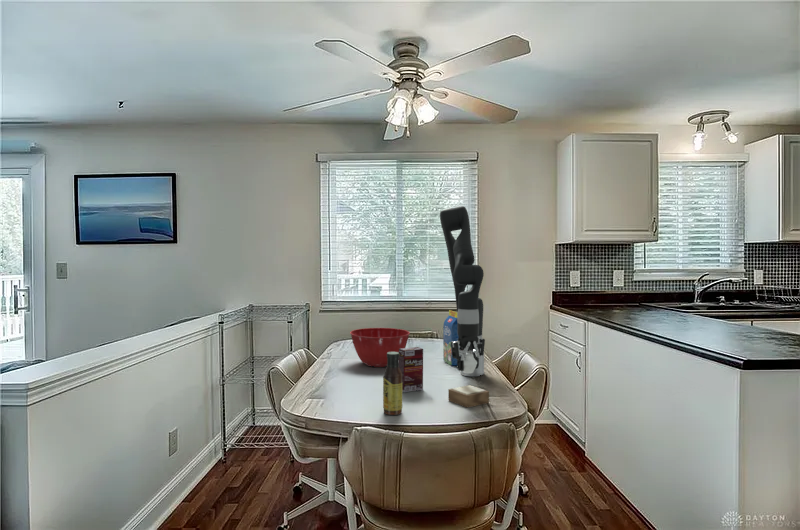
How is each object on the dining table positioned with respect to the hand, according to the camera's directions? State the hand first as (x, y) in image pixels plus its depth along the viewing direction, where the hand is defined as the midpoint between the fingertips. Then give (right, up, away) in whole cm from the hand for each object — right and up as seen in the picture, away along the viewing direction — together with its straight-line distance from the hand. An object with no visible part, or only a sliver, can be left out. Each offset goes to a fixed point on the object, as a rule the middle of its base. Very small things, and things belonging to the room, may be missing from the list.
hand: (468, 369), depth 173 cm
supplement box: (-20, -11, +16) cm, 28 cm away
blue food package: (+2, -11, +63) cm, 64 cm away
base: (0, -11, 0) cm, 11 cm away
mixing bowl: (-33, -11, +62) cm, 71 cm away
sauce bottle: (-26, -12, -13) cm, 31 cm away
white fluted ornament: (0, -1, 0) cm, 1 cm away
